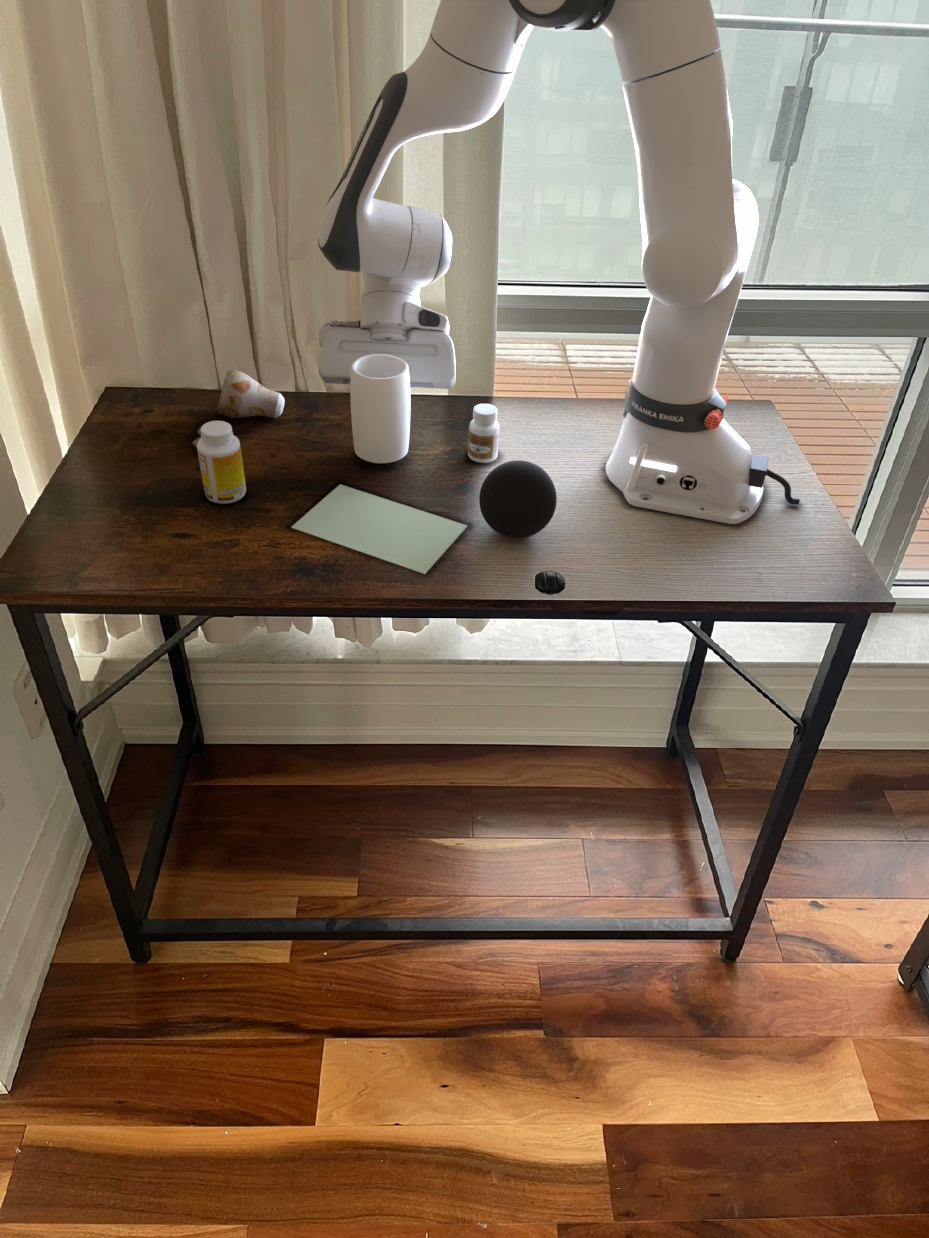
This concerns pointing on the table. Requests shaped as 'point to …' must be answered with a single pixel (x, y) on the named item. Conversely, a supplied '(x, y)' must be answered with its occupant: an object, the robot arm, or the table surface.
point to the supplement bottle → (221, 463)
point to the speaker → (517, 499)
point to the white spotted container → (248, 398)
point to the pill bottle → (483, 434)
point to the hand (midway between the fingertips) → (385, 414)
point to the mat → (381, 528)
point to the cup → (380, 407)
